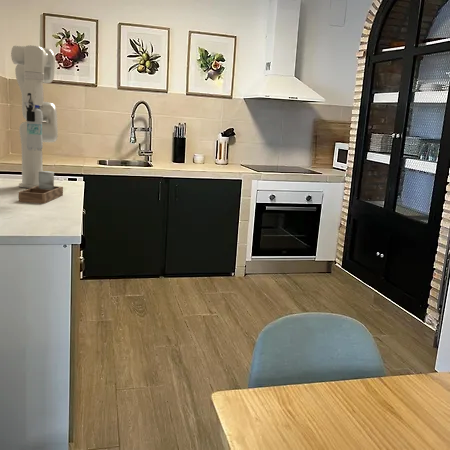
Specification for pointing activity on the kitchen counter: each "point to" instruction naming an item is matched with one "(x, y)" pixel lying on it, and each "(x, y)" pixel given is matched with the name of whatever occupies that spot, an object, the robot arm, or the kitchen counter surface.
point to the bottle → (35, 131)
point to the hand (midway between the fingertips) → (34, 121)
